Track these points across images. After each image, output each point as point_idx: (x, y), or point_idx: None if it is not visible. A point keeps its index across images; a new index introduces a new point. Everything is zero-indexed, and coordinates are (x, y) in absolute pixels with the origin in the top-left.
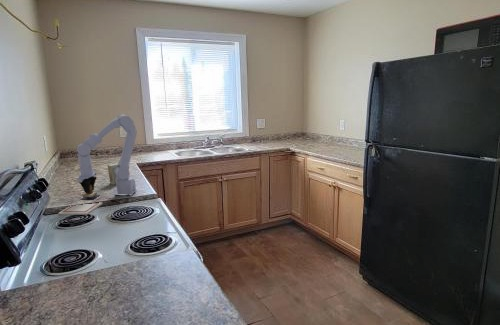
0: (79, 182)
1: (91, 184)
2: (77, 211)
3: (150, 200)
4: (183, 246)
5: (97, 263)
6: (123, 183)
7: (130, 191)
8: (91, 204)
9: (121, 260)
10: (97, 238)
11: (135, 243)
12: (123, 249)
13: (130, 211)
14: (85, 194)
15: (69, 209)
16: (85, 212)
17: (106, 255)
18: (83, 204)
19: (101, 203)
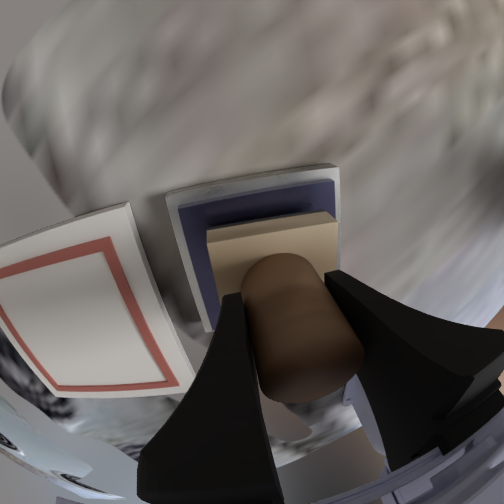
0: (147, 460)
1: (347, 381)
2: (30, 358)
3: (286, 456)
4: (111, 497)
5: (14, 453)
6: (381, 440)
7: (358, 415)
8: (140, 360)
9: (39, 468)
10: (31, 445)
11: (72, 476)
12: (52, 469)
13: None
14: (226, 275)
15: (12, 288)
16: (55, 389)
17: (28, 458)
18: (111, 314)
19: (186, 391)
